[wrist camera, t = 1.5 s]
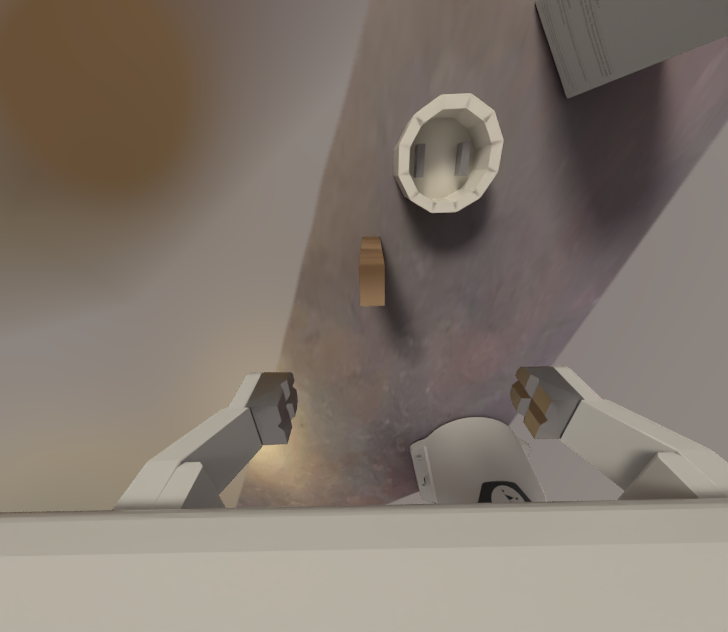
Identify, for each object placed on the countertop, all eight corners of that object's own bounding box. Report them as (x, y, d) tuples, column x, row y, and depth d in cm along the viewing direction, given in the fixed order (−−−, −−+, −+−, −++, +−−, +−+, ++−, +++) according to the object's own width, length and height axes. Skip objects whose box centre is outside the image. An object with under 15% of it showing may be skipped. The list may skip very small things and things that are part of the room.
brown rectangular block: (379, 265, 28) (384, 305, 20) (363, 265, 28) (360, 306, 20) (379, 236, 27) (384, 266, 18) (362, 237, 27) (358, 267, 18)
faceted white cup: (471, 205, 25) (490, 211, 21) (393, 208, 26) (397, 214, 22) (486, 106, 22) (512, 91, 18) (394, 110, 22) (400, 96, 18)
